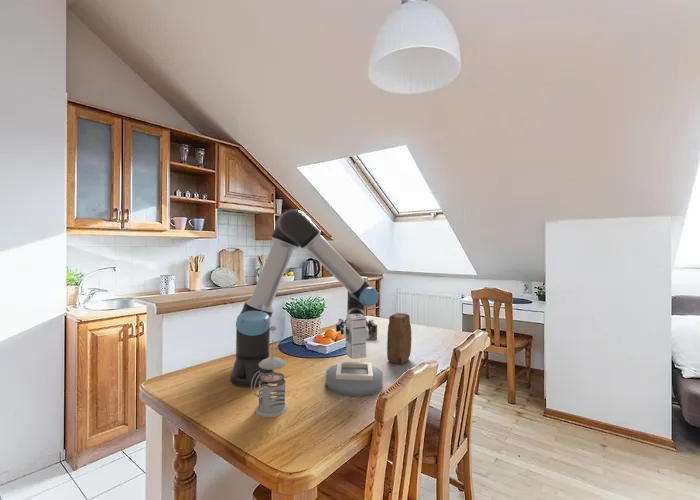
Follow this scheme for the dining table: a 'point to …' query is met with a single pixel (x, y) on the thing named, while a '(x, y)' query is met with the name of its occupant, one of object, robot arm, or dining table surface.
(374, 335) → the ruin model on sheet
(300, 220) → the robot arm
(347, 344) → the syrup box
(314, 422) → the dining table surface
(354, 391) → the tower base
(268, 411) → the french press
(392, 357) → the block
